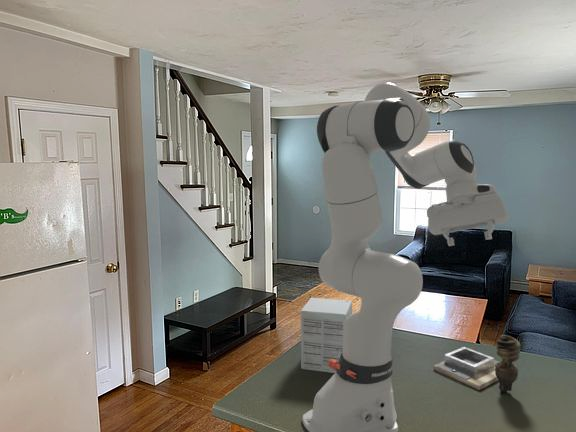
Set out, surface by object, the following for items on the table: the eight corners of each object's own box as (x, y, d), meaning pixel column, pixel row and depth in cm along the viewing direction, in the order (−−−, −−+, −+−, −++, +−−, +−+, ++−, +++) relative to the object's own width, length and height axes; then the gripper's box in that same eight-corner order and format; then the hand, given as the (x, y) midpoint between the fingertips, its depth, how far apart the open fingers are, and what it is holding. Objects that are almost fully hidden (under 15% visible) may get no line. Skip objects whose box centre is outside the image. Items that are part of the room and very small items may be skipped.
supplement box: (310, 350, 137) (310, 296, 135) (352, 355, 134) (352, 300, 132) (300, 369, 125) (299, 310, 123) (345, 375, 121) (346, 314, 119)
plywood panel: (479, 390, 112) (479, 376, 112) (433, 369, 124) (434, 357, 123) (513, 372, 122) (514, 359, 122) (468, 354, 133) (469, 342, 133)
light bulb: (497, 384, 115) (499, 330, 113) (520, 391, 112) (523, 335, 110) (491, 393, 111) (494, 336, 109) (514, 400, 107) (518, 342, 106)
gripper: (423, 201, 125) (426, 243, 118) (500, 183, 115) (509, 229, 108) (429, 211, 129) (433, 253, 122) (504, 195, 119) (513, 240, 112)
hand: (469, 241), depth 115 cm, fingers open, 8 cm apart
